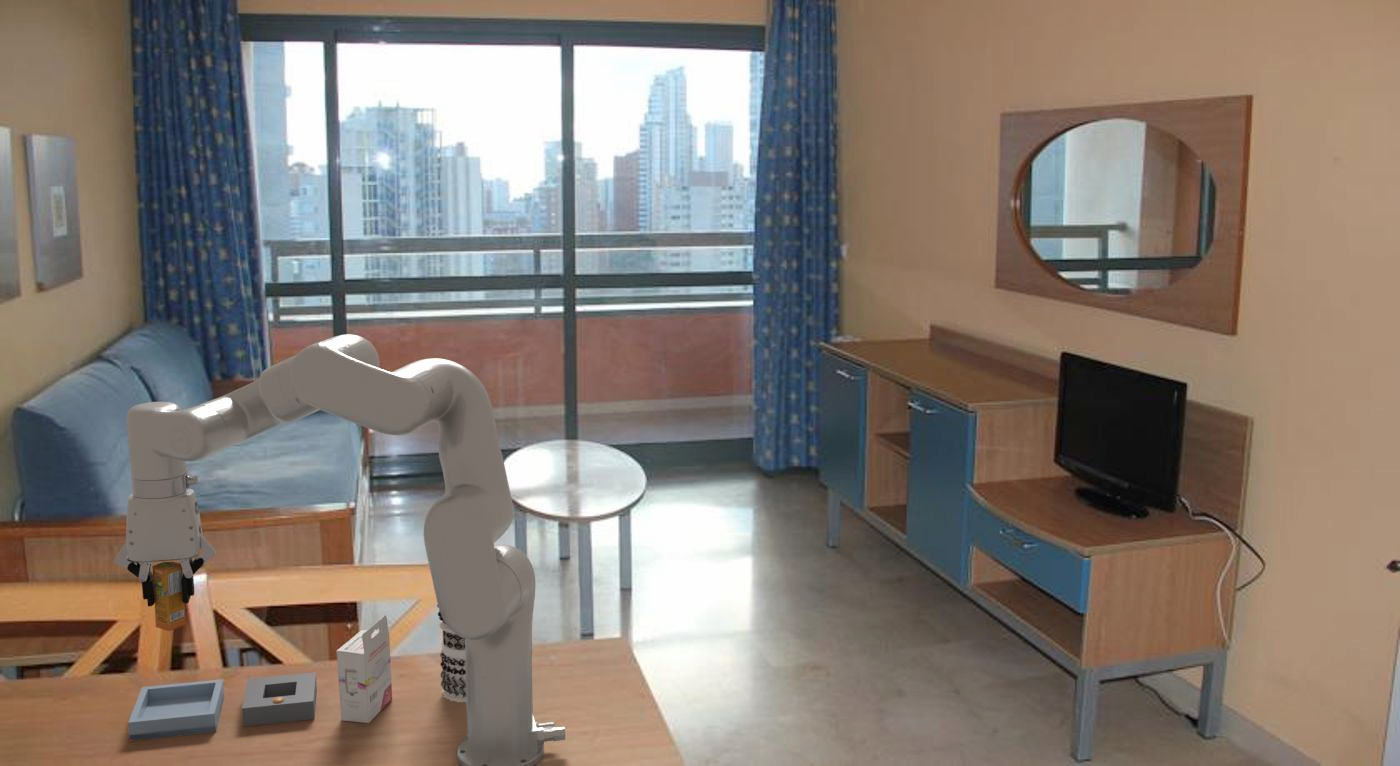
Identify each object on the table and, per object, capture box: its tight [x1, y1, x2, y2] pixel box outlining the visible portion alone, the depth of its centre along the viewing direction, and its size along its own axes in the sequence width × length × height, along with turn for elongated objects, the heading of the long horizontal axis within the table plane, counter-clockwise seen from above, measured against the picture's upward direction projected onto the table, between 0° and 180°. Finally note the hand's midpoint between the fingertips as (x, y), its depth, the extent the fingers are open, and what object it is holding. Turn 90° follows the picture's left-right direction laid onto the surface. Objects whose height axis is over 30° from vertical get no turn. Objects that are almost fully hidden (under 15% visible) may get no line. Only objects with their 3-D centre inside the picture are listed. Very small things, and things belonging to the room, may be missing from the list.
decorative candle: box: [436, 603, 466, 703], centre depth 195 cm, size 9×9×25 cm
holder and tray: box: [127, 671, 318, 741], centre depth 189 cm, size 26×12×3 cm, turn 105°
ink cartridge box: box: [336, 615, 393, 724], centre depth 189 cm, size 9×5×15 cm, turn 168°
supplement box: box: [152, 560, 187, 632], centre depth 183 cm, size 3×3×10 cm
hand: (169, 600), depth 184 cm, fingers closed on supplement box, 4 cm apart
